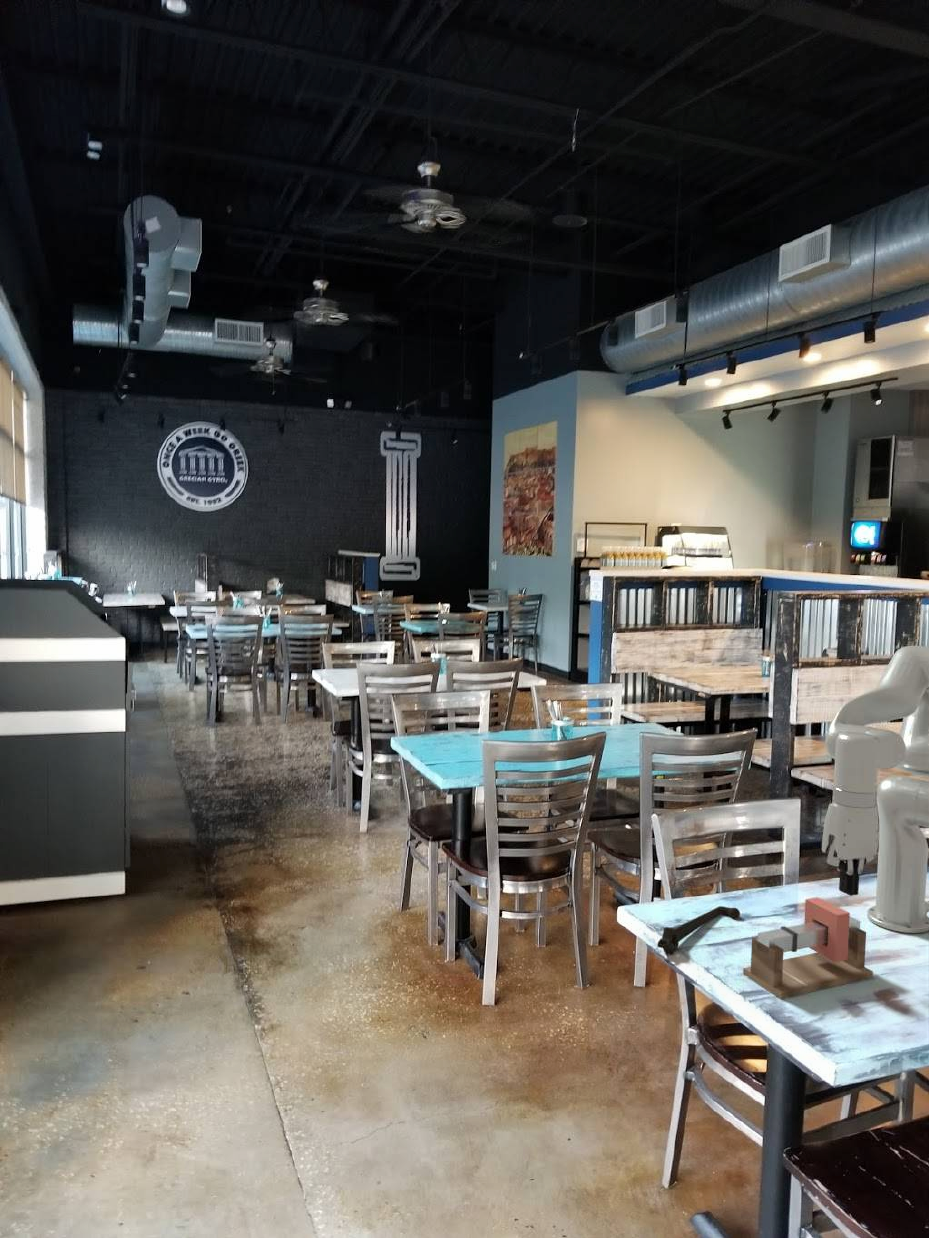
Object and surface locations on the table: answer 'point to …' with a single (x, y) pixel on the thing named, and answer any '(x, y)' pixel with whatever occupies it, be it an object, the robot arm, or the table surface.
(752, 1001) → the table surface
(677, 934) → the wrench
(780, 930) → the rod
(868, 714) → the robot arm
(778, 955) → the pipe stand
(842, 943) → the salmon pink rectangular block
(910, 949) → the table surface
